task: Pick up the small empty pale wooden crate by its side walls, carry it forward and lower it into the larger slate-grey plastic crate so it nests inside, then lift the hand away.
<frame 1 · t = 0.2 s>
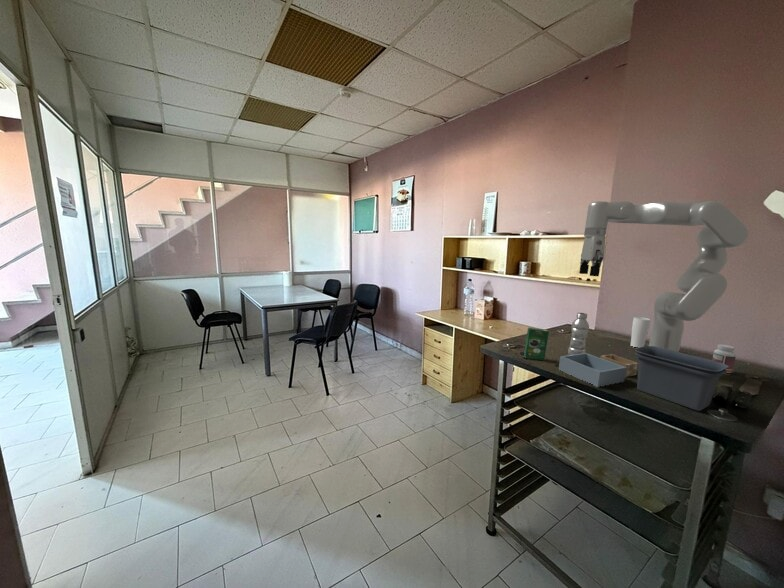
hand: (588, 274, 131), 37 cm above the table, tool pointing down, fingers open, 9 cm apart
plastic bottle: (575, 358, 137), on the table
wooden crate: (617, 371, 125), on the table
grey crate: (590, 375, 118), on the table
pill bottle: (720, 372, 129), on the table
coffee box: (534, 358, 134), on the table
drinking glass: (636, 347, 157), on the table
storage bin: (671, 397, 104), on the table
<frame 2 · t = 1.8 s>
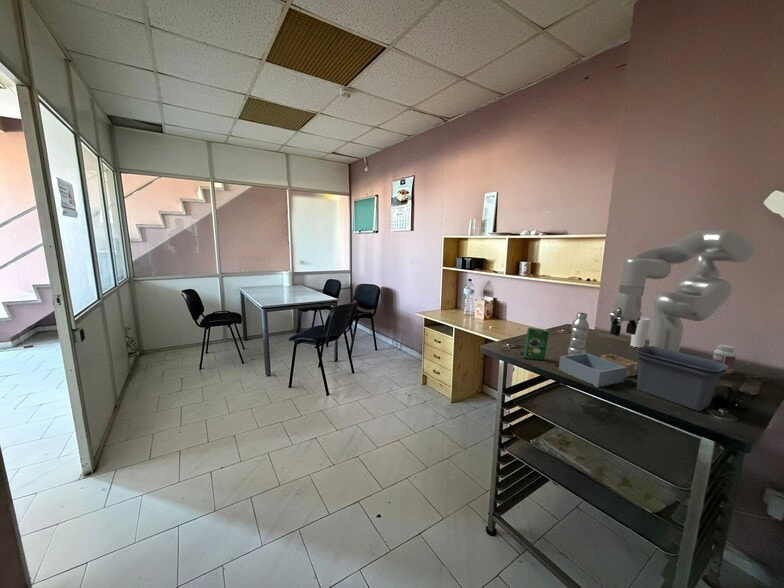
hand: (622, 334, 122), 15 cm above the table, tool pointing down, fingers open, 9 cm apart
nothing on the table moved.
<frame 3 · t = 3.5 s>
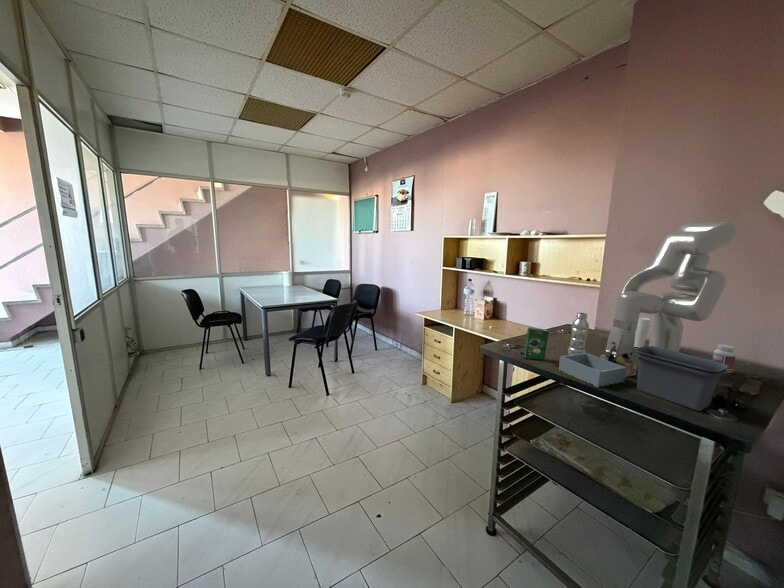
hand: (617, 368, 124), 1 cm above the table, tool pointing down, fingers closed on wooden crate, 7 cm apart
wooden crate: (616, 370, 125), on the table, touching gripper
everything else where it was.
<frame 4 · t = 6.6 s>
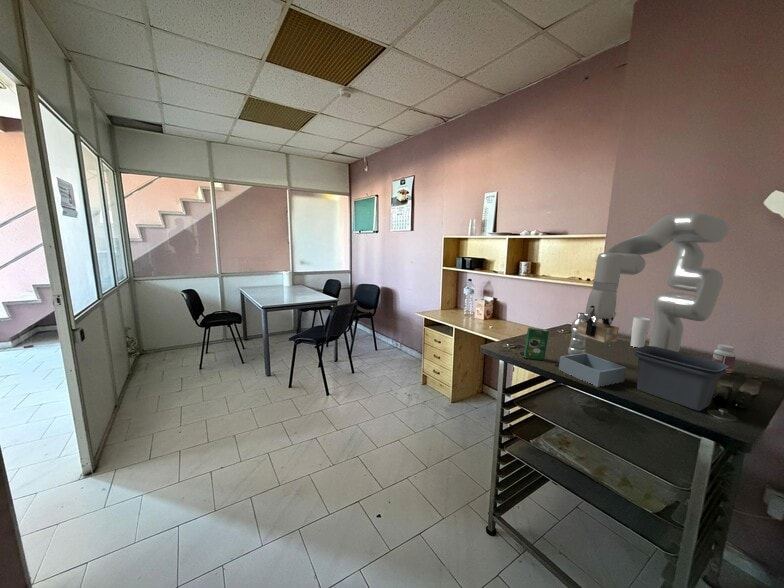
hand: (597, 334, 116), 16 cm above the table, tool pointing down, fingers closed on wooden crate, 7 cm apart
wooden crate: (596, 337, 116), point 15 cm above the table, touching gripper
everything else where it was.
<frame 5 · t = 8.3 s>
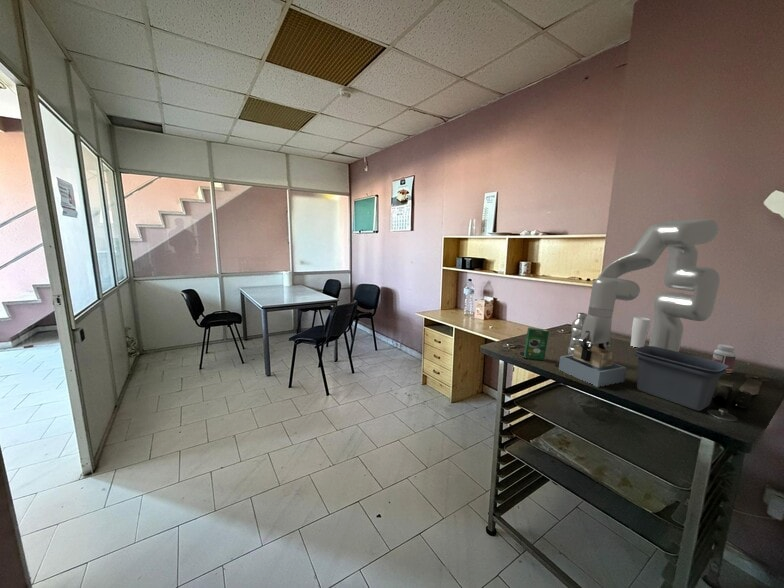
hand: (592, 358, 117), 7 cm above the table, tool pointing down, fingers closed on wooden crate, 7 cm apart
wooden crate: (591, 361, 117), point 6 cm above the table, touching gripper
everything else where it was.
when the fingers open (3 cm above the table, at t = 9.6 s): wooden crate drops 1 cm, resting on grey crate.
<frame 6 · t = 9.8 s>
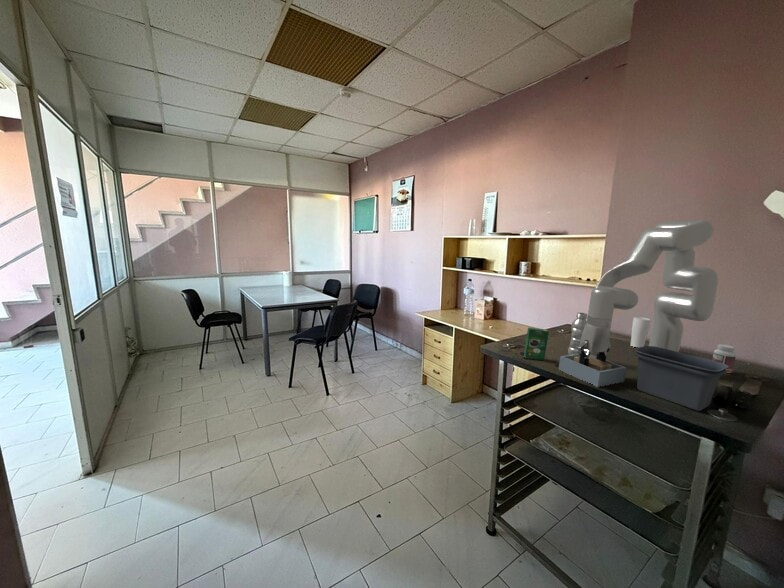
hand: (591, 366, 118), 4 cm above the table, tool pointing down, fingers open, 9 cm apart
wooden crate: (590, 373, 118), point 1 cm above the table, touching grey crate
everything else where it was.
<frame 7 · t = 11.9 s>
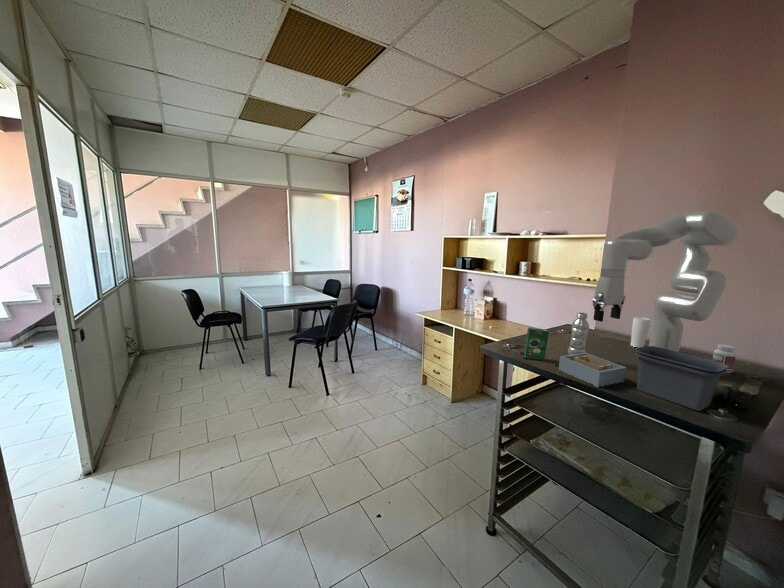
hand: (606, 319, 118), 21 cm above the table, tool pointing down, fingers open, 9 cm apart
nothing on the table moved.
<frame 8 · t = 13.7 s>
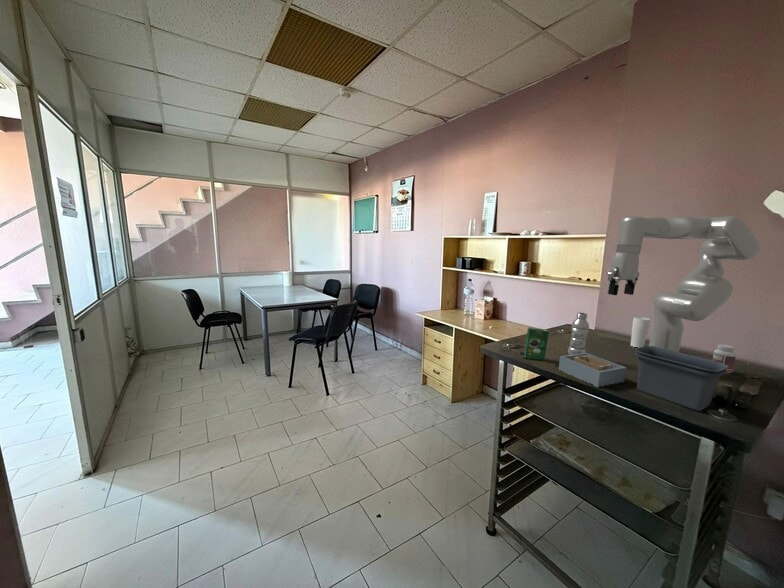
hand: (620, 294, 122), 30 cm above the table, tool pointing down, fingers open, 9 cm apart
nothing on the table moved.
at the end: wooden crate 0.1 cm off-centre on the grey crate, point 0.8 cm above the grey crate's base; wooden crate tilted 0°; the gripper is holding nothing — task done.
